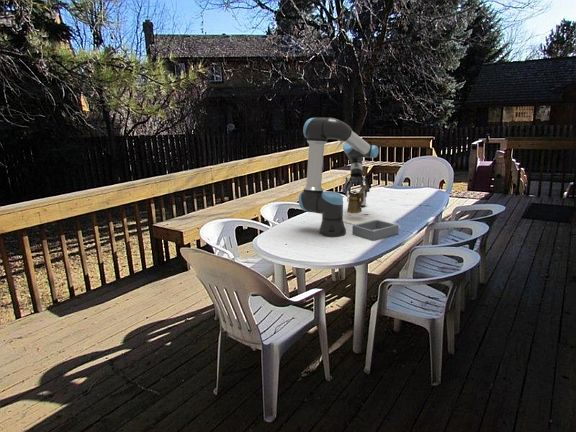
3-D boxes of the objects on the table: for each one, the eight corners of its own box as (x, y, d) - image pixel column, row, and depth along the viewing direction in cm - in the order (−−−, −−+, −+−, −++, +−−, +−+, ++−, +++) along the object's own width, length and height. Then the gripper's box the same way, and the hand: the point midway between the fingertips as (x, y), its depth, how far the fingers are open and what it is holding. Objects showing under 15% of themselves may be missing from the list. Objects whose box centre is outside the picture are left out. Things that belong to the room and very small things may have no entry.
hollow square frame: (373, 240, 229) (373, 231, 228) (352, 234, 242) (352, 225, 240) (398, 233, 240) (398, 225, 239) (376, 227, 253) (377, 219, 252)
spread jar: (365, 207, 303) (366, 191, 300) (349, 207, 305) (349, 191, 302) (365, 204, 315) (366, 188, 312) (350, 203, 317) (350, 188, 314)
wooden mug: (362, 215, 262) (362, 186, 257) (344, 212, 271) (343, 184, 266) (370, 211, 268) (370, 183, 264) (352, 209, 277) (351, 181, 272)
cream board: (355, 225, 259) (355, 224, 259) (335, 219, 273) (335, 218, 273) (375, 220, 269) (375, 219, 269) (355, 215, 283) (355, 214, 283)
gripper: (373, 174, 278) (373, 204, 267) (339, 174, 281) (338, 203, 270) (374, 167, 271) (374, 197, 260) (339, 168, 275) (337, 197, 264)
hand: (356, 200), depth 265 cm, fingers closed on wooden mug, 9 cm apart
